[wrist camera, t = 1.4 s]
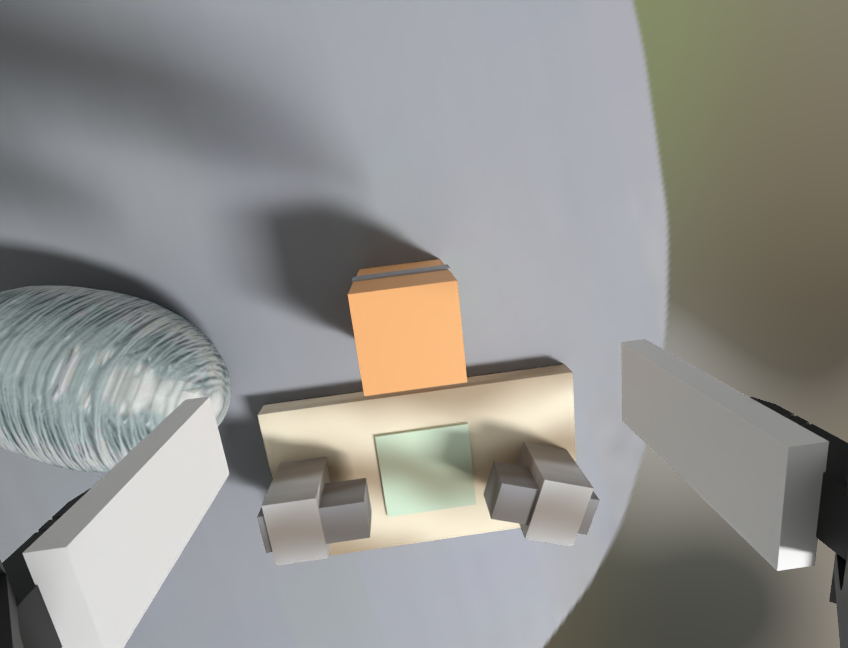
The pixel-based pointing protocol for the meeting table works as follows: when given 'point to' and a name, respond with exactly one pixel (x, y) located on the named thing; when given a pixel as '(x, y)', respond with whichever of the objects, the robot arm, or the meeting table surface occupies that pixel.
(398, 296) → the block
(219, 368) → the grey green yarn ball
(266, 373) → the meeting table surface
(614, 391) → the meeting table surface
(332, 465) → the coupling bench
